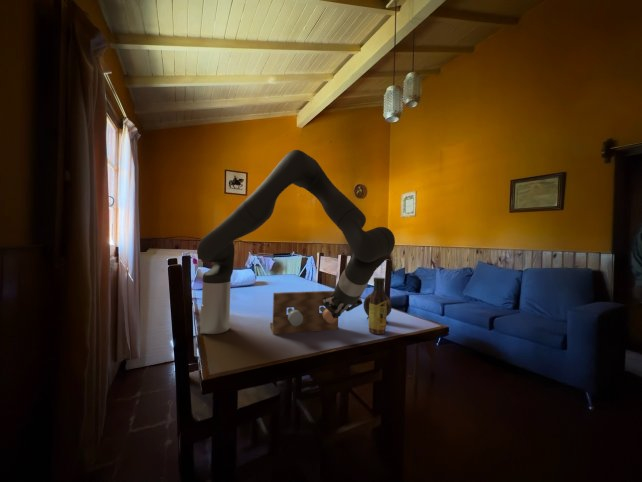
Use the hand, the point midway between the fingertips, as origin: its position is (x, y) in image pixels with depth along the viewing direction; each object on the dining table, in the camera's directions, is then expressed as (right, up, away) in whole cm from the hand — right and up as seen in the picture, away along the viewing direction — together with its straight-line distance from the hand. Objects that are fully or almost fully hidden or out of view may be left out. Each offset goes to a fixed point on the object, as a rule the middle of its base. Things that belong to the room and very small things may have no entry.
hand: (334, 315), depth 87 cm
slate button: (-14, -3, +4) cm, 15 cm away
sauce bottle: (+16, -9, +12) cm, 22 cm away
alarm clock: (+18, -9, +24) cm, 32 cm away
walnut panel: (-11, -8, +13) cm, 19 cm away
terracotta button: (-3, -3, +8) cm, 9 cm away
